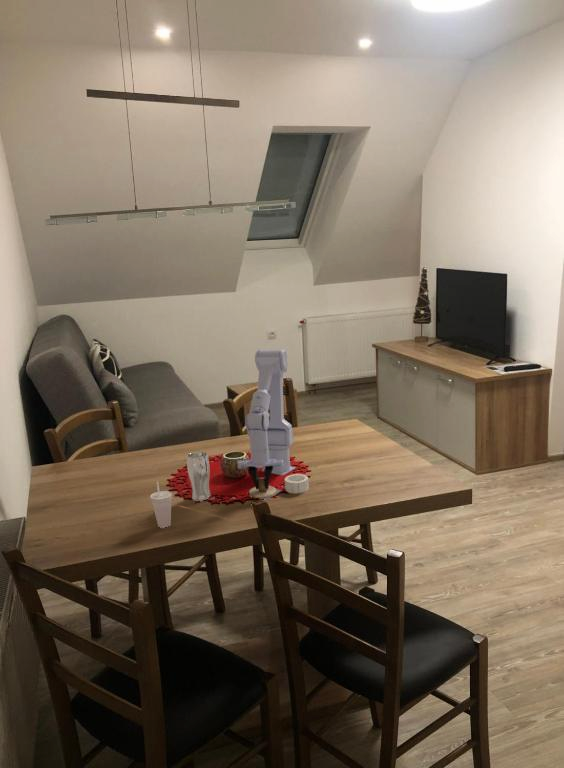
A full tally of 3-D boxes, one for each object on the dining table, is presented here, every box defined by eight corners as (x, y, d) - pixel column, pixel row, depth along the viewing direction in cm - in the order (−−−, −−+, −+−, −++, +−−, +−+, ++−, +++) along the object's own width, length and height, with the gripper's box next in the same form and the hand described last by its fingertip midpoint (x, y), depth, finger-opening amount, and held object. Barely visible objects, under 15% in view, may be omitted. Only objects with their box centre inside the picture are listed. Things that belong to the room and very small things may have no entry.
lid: (244, 494, 206) (243, 481, 205) (260, 485, 213) (259, 472, 211) (264, 500, 201) (263, 485, 200) (281, 490, 207) (280, 476, 206)
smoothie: (154, 521, 191) (149, 478, 188) (176, 519, 192) (171, 476, 189) (152, 531, 185) (146, 486, 182) (174, 529, 186) (169, 484, 182)
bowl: (281, 491, 207) (280, 480, 207) (294, 483, 213) (293, 472, 212) (299, 496, 203) (299, 484, 202) (313, 487, 209) (312, 476, 208)
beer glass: (215, 495, 208) (211, 451, 205) (206, 503, 202) (202, 459, 199) (196, 493, 211) (192, 450, 207) (187, 502, 204) (182, 458, 201)
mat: (243, 496, 206) (243, 495, 206) (260, 486, 213) (260, 485, 213) (265, 501, 201) (265, 500, 200) (282, 491, 208) (282, 490, 207)
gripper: (234, 453, 200) (238, 493, 203) (280, 452, 198) (283, 492, 201) (238, 445, 207) (242, 484, 210) (282, 444, 205) (285, 484, 208)
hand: (262, 488), depth 206 cm, fingers closed on lid, 3 cm apart
